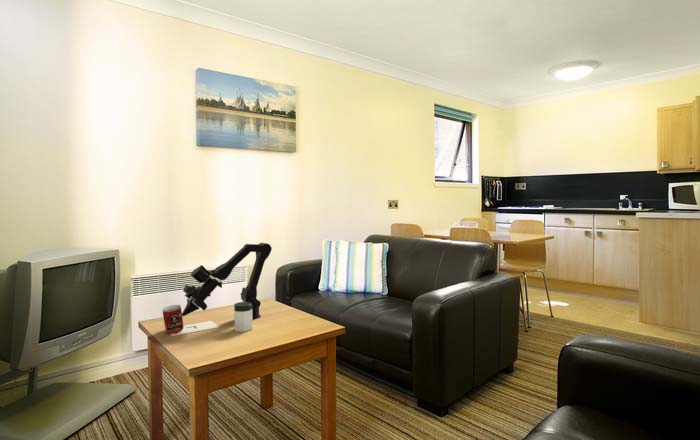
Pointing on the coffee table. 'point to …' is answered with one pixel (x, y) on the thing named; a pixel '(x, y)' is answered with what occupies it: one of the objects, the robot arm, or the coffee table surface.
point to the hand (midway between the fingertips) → (182, 315)
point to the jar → (243, 316)
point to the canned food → (173, 319)
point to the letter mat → (196, 328)
